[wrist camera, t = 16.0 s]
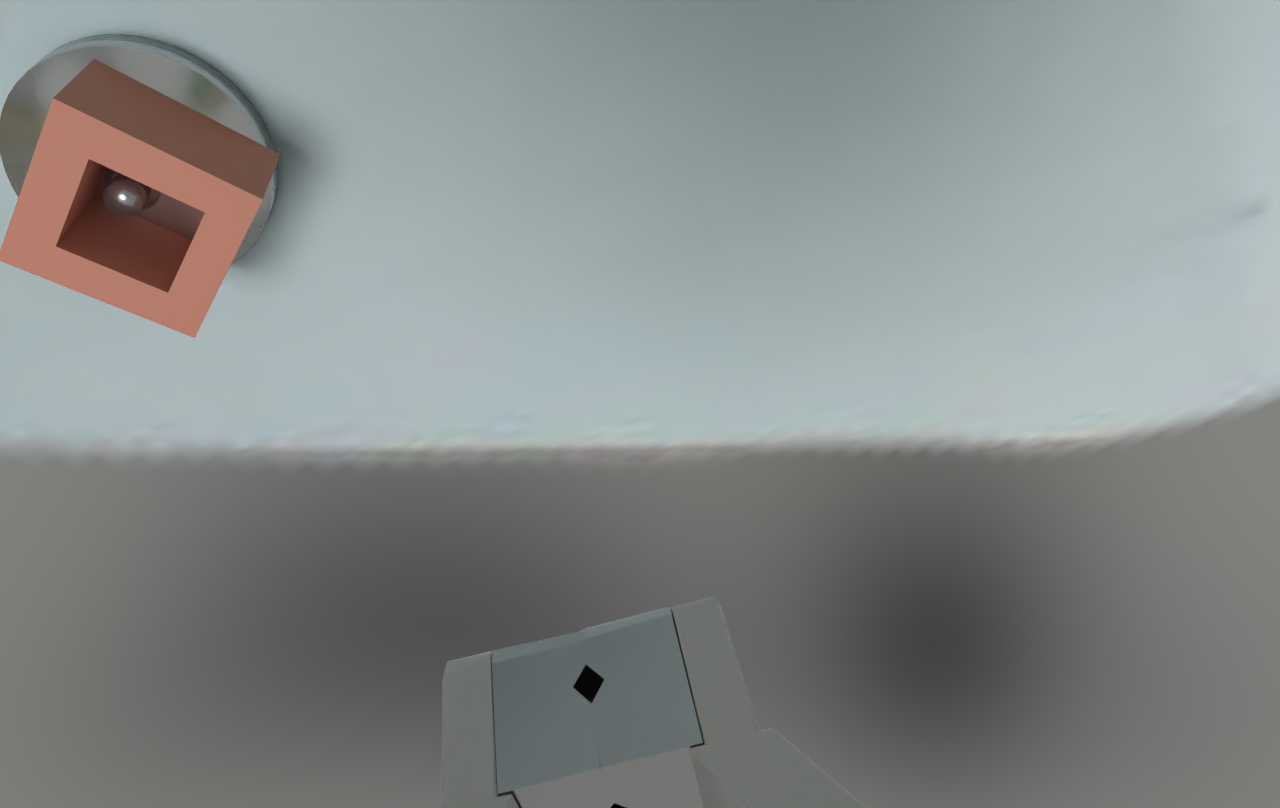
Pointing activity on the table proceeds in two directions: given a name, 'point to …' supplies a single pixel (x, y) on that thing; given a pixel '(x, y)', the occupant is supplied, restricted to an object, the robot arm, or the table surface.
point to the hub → (158, 71)
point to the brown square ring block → (131, 246)
